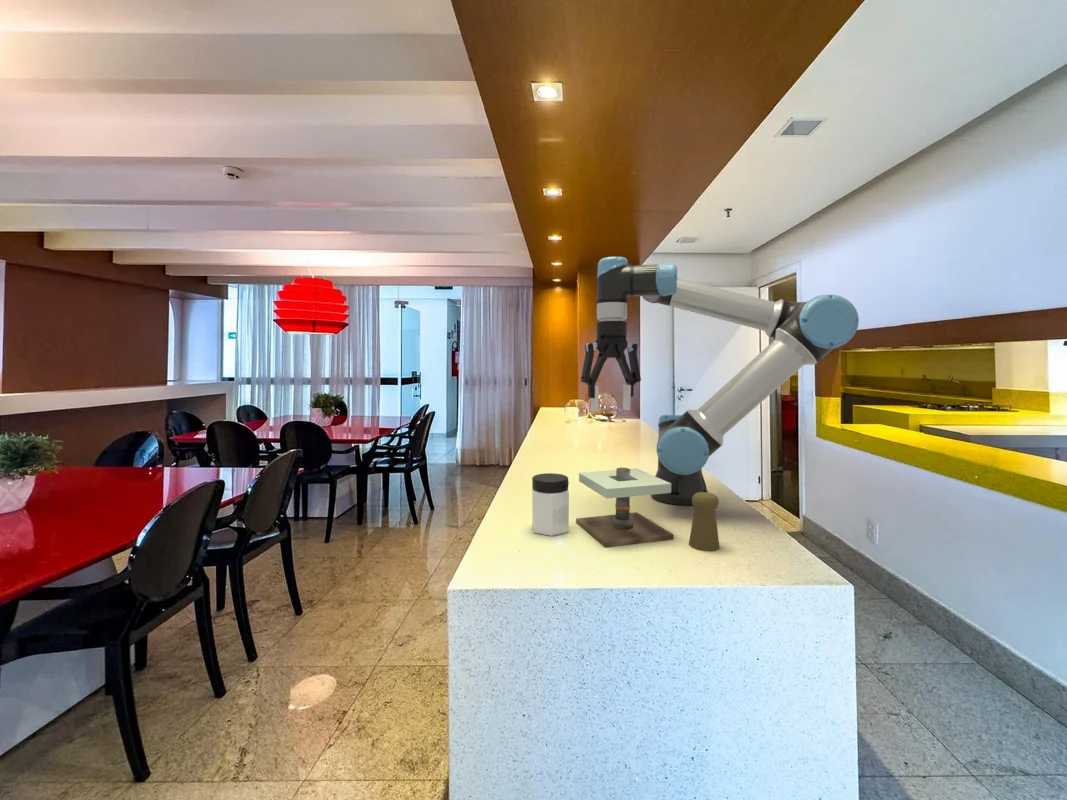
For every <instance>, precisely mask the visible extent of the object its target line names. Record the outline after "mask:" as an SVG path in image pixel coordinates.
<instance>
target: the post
mask: <svg viewBox="0 0 1067 800" xmlns="http://www.w3.org/2000/svg"><path fill="white" fill-rule="evenodd" d="M630 469H631V468H628V467H617V468H616V469H615V470H616V481H630ZM630 498H631V497H620V498H615V514H607V515H597V516H596V515H595V516H588V517H587V516H586V517H577V518H575V523H576V524H577V525H578V526H579V527H581V529H583V530H584V531H585V532H586V533H587V534H588V535H590V536H591V537H592V538H593V539H594V540H596V541H597V542H598V543H599V544H600V545H602V547H604V548H610V547H619V546H626V545H627V546H628V545H636V544H637V545H638V544H644V543H645V544H646V543H651V542H661V541H667V540H668V541H669V540H674V534H673V533H672V532H670V531H669V530H667V529H666V528H664V527H662V526H661V525H659V524H658V523H655V522H654V521H652V520H651V519H649V518H647V517H646V516H644V515H642V514H641V513H639V512H637V511H634V512H630V510H631V505H630V504H631V501H630Z"/></svg>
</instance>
